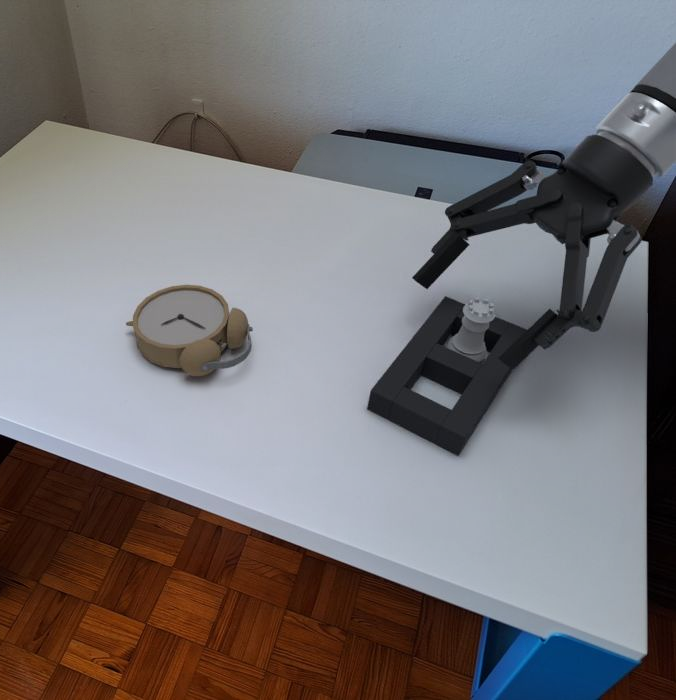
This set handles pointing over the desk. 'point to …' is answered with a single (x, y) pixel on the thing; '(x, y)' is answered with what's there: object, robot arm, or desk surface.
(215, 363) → the alarm clock
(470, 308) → the rook chess piece
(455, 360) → the socket pad
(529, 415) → the desk surface
